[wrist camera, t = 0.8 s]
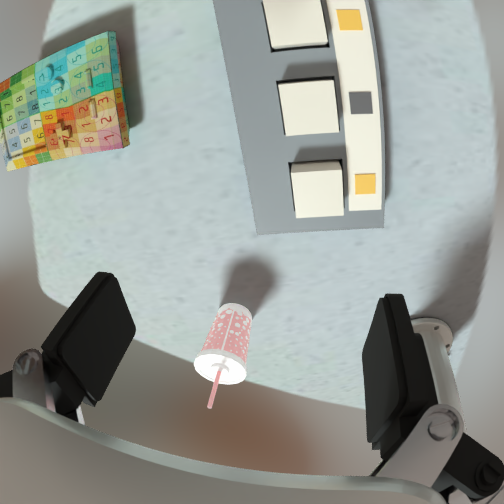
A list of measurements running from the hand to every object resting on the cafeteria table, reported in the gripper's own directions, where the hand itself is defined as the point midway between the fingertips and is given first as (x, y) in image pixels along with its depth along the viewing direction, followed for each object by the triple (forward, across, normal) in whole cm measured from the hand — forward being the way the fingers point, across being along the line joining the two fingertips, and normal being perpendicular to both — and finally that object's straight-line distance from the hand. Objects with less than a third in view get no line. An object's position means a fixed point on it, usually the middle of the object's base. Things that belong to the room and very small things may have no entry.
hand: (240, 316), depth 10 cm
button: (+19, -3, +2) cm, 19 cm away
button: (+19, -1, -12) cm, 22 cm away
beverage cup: (+21, +6, +22) cm, 31 cm away
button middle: (+19, -2, -5) cm, 19 cm away
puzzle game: (+21, +25, -8) cm, 33 cm away
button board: (+21, -2, -5) cm, 21 cm away
